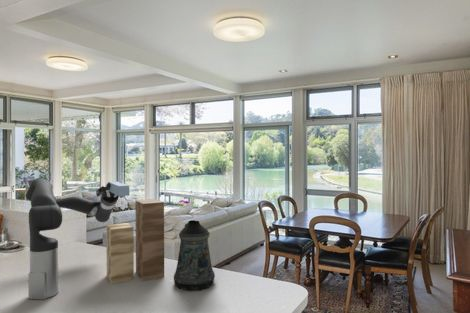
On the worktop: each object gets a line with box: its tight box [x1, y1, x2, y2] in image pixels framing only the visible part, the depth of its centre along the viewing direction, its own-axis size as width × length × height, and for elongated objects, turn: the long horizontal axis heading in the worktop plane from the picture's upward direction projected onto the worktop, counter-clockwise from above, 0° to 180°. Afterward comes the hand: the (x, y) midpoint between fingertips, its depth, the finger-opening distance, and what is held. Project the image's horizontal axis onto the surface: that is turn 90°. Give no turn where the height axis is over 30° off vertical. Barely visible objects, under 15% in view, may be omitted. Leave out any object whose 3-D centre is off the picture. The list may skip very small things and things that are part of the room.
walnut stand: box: [134, 198, 165, 282], centre depth 147 cm, size 12×9×32 cm
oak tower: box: [105, 222, 135, 284], centre depth 143 cm, size 10×9×22 cm
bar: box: [107, 180, 130, 197], centre depth 145 cm, size 24×4×4 cm, turn 31°
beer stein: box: [173, 220, 216, 292], centre depth 137 cm, size 16×19×25 cm
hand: (115, 184), depth 150 cm, fingers closed on bar, 4 cm apart
